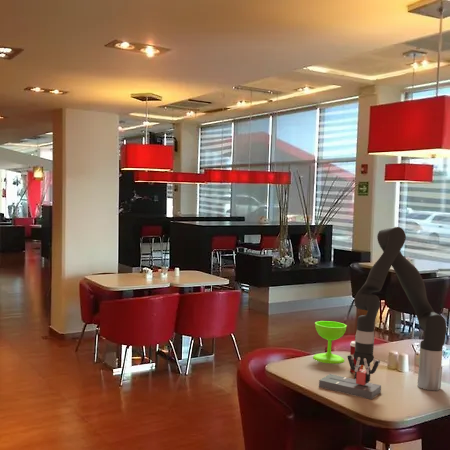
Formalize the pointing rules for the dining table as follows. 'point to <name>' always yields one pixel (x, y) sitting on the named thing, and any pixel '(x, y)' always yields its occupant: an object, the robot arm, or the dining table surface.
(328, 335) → the wineglass
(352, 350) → the paper cup
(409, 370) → the dining table surface
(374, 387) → the console
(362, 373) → the fader
